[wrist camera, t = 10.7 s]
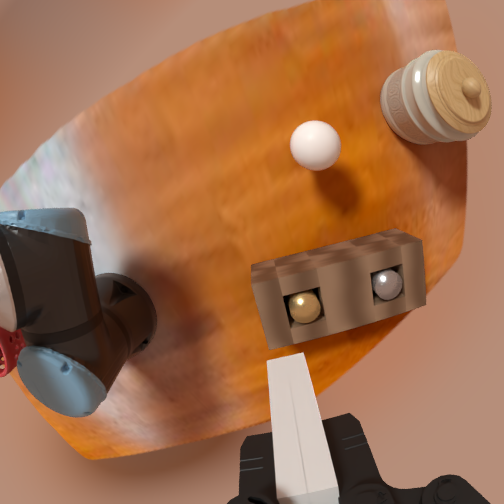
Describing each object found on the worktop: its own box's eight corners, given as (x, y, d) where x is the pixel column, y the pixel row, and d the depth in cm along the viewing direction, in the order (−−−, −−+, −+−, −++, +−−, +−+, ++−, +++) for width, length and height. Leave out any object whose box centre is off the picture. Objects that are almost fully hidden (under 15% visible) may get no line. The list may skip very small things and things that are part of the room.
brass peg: (286, 304, 49) (292, 327, 41) (280, 278, 48) (285, 298, 40) (313, 297, 49) (324, 319, 41) (308, 271, 48) (318, 290, 40)
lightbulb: (334, 155, 45) (357, 151, 34) (300, 179, 46) (314, 181, 35) (309, 121, 44) (326, 106, 33) (275, 144, 45) (282, 135, 34)
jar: (374, 65, 41) (426, 25, 24) (439, 77, 41) (502, 52, 24) (380, 142, 44) (441, 131, 27) (446, 148, 44) (515, 146, 27)
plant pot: (21, 289, 50) (-15, 312, 39) (48, 346, 53) (18, 377, 42) (-11, 301, 51) (-44, 322, 40) (14, 353, 54) (-14, 379, 43)
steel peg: (359, 285, 48) (376, 304, 41) (355, 259, 47) (373, 275, 40) (383, 278, 48) (404, 296, 40) (380, 252, 47) (402, 267, 39)
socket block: (266, 321, 51) (269, 349, 43) (251, 264, 49) (251, 284, 40) (401, 284, 50) (426, 304, 41) (395, 228, 48) (422, 240, 39)
